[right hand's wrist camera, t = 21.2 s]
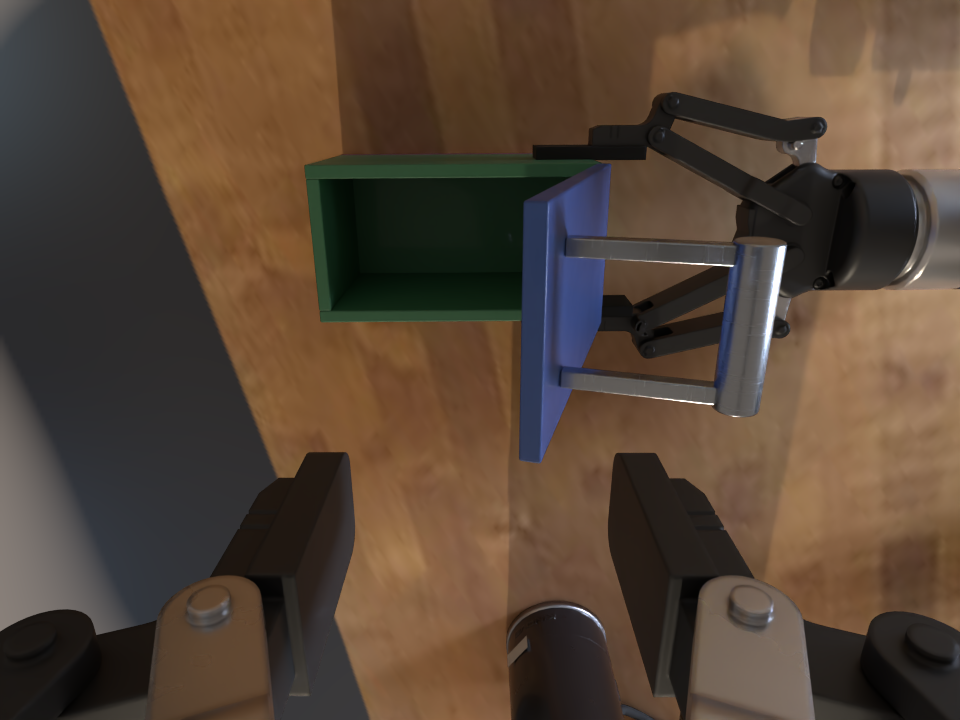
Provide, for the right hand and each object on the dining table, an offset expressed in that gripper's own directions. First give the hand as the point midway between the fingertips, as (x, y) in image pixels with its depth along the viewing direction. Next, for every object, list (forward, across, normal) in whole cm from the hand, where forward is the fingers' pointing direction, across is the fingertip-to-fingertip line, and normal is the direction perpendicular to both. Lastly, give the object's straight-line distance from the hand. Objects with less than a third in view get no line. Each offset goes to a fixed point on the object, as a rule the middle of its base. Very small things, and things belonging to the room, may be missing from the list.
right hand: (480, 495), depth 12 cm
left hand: (+30, -3, 0) cm, 30 cm away
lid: (+17, -4, 0) cm, 18 cm away
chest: (+36, +2, 0) cm, 36 cm away
